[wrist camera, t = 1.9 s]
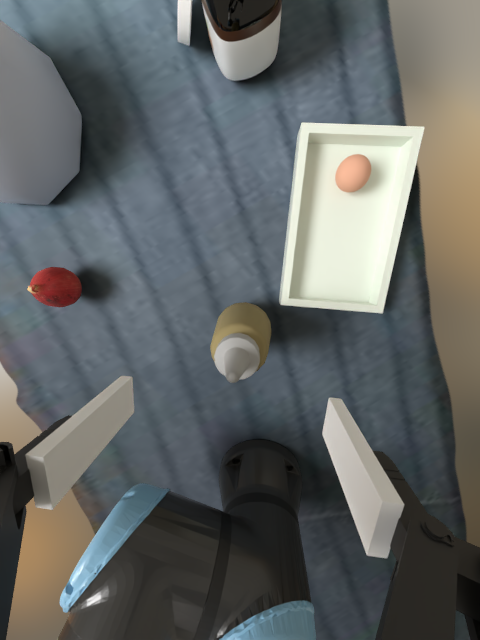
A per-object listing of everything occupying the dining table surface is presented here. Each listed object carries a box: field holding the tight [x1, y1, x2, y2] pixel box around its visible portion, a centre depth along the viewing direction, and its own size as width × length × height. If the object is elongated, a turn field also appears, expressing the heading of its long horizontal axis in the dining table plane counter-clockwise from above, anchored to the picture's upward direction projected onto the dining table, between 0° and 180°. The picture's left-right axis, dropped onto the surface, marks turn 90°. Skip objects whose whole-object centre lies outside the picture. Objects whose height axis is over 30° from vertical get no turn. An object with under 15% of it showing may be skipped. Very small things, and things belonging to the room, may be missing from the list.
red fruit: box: [28, 267, 82, 307], centre depth 34 cm, size 6×6×8 cm
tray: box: [279, 123, 424, 313], centre depth 31 cm, size 22×14×3 cm, turn 176°
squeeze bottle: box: [210, 302, 271, 383], centre depth 28 cm, size 8×8×18 cm
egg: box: [335, 154, 371, 193], centre depth 28 cm, size 4×4×4 cm
